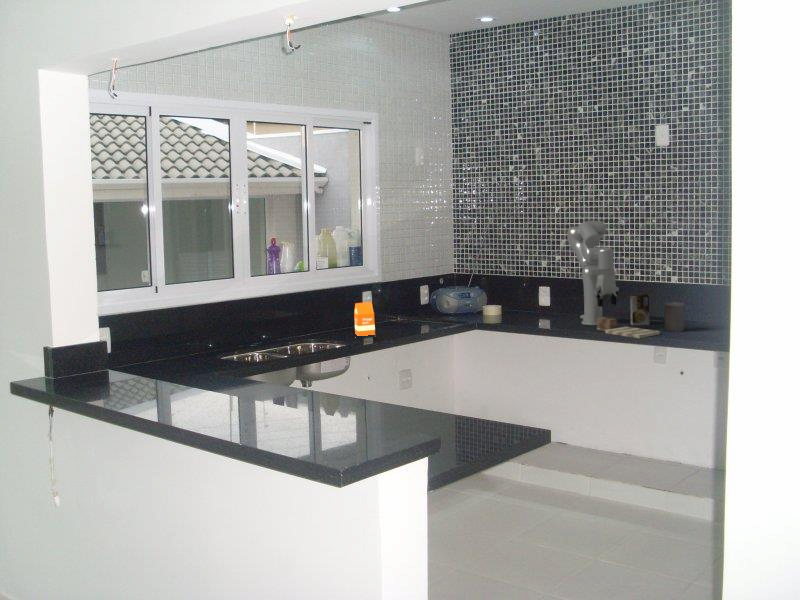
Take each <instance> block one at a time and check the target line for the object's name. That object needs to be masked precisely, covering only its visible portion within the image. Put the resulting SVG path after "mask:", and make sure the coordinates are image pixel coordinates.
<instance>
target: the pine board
mask: <svg viewBox="0 0 800 600" xmlns="http://www.w3.org/2000/svg"><path fill="white" fill-rule="evenodd" d="M604 332H605V334H608V335H609V334H610V335H614V336H620V337H621V336H622V337H628V338H635V339H642V338H649V337H651V336H658V335H660V334H661V331H660V330H653V329H646V328H640V327H631V326H622V327H621V326H620V327H617V328H615V329H609V330H605V331H604Z"/></svg>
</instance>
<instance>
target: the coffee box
mask: <svg viewBox="0 0 800 600" xmlns="http://www.w3.org/2000/svg"><path fill="white" fill-rule="evenodd" d="M629 307H630V308H629V309H630V313H629V314H630V324H631V326H648V325H649V326H650V295H649V293H647V292H646V293H630V294H629Z"/></svg>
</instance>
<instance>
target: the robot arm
mask: <svg viewBox="0 0 800 600" xmlns="http://www.w3.org/2000/svg"><path fill="white" fill-rule="evenodd" d="M606 232H607V227H606V224H605V223H604V222H603V221H602V220H590V221H589V220H588V221H583V222H580V224H579V225H578V226H573V227H570V228H569V229H568V230H567V233H566V235H567V238H566V239H567V242H568V245H569V246H570V248H571V249H572V251H573V252H574V253H575V256H576V258H577V261H578V263H579V265H580V267H581V268H582V270H581V278H582V283H583V303H584V304H583V305H584V310H583V311H584V312H583V313H584V314H582V315H580V316H579V318H580V319H582V320H581V324H582V325H585V326H597V318H603V306H604V301H603V297H604V296H605V295H610V304H611V305H613V306H615V305H617V297H618V294H619V290H620V287H618V286H617V285H616V284H617V283H616V271H615V267H614V250H613V248H611V247H608V246H604V247H602V246H599V244H600V242H601V238H603V237H604V236H605V234H606ZM597 246H599V247H597Z"/></svg>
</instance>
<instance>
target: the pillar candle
mask: <svg viewBox="0 0 800 600" xmlns="http://www.w3.org/2000/svg"><path fill="white" fill-rule="evenodd" d="M663 330H664V331H665V332H670V333H680V332H684V331H685V303H684V302H675V301H673V302H672V301H671V302H665V303H664V329H663Z"/></svg>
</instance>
